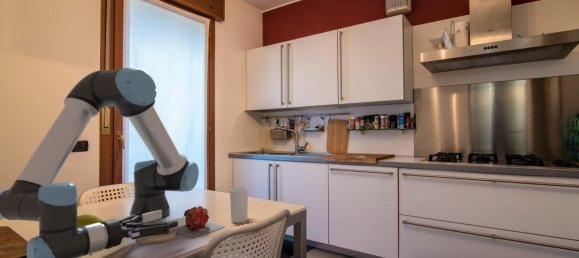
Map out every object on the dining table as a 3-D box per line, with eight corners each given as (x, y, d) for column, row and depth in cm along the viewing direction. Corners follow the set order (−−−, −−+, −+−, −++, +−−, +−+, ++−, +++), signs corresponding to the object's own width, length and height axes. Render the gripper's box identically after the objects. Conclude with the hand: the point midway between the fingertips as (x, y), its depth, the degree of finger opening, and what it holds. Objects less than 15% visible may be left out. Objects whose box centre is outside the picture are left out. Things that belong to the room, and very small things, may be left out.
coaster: (128, 239, 97) (128, 237, 97) (162, 229, 107) (162, 227, 107) (147, 247, 90) (147, 245, 90) (182, 235, 100) (182, 233, 100)
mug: (242, 223, 112) (242, 191, 112) (227, 222, 114) (226, 190, 114) (254, 216, 121) (254, 186, 121) (239, 215, 123) (239, 185, 124)
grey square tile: (167, 230, 105) (167, 230, 105) (200, 220, 117) (200, 220, 117) (192, 238, 97) (192, 238, 97) (225, 226, 108) (225, 226, 108)
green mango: (59, 243, 95) (59, 218, 95) (79, 234, 103) (79, 211, 103) (91, 244, 94) (91, 218, 94) (109, 235, 101) (108, 211, 101)
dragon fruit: (182, 239, 101) (203, 232, 112) (200, 225, 99) (220, 220, 110) (172, 216, 103) (194, 212, 114) (189, 203, 102) (210, 200, 113)
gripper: (84, 240, 90) (152, 222, 107) (124, 260, 75) (196, 235, 92) (83, 215, 90) (152, 200, 107) (123, 230, 75) (195, 211, 92)
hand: (172, 217), depth 99 cm, fingers open, 13 cm apart
